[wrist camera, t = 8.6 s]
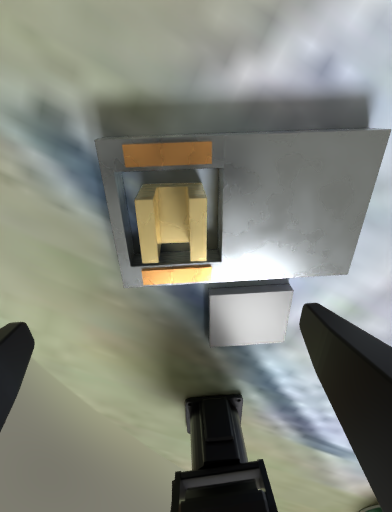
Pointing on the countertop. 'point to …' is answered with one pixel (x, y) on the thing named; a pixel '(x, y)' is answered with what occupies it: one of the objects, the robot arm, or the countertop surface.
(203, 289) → the countertop surface
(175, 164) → the rail plate
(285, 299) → the tab
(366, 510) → the canned tomato
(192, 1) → the countertop surface
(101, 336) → the countertop surface
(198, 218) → the brass clip
